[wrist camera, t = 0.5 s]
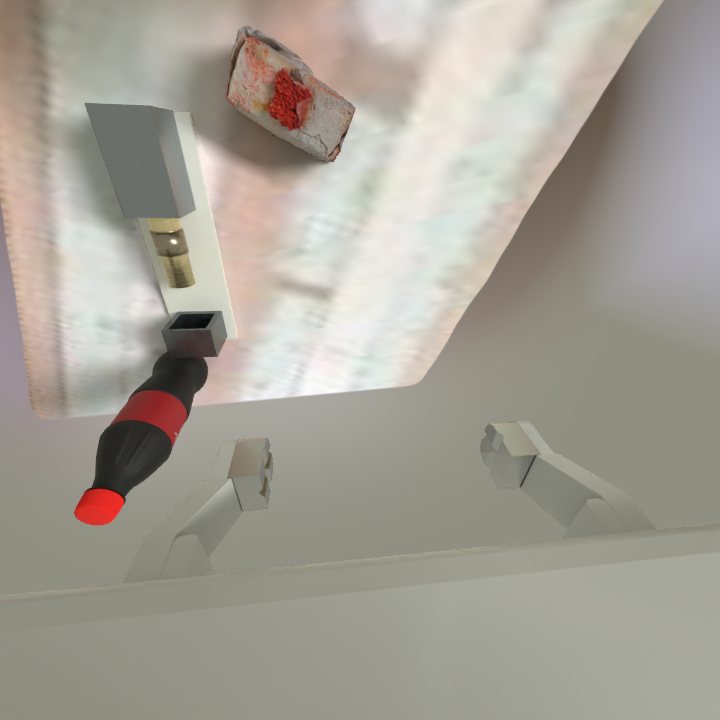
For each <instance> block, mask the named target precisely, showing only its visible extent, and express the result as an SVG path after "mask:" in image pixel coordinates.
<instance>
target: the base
mask: <svg viewBox="0 0 720 720" xmlns="http://www.w3.org/2000/svg"><path fill="white" fill-rule="evenodd" d="M173 113H174V117H175V121H176V126H177V130H178V134H179V138H180V143H181V147H182V151H183V156H184V160H185V164H186V168H187V173H188V177H189V181H190V185H191V190H192V194H193V198H194V203H195V207H196V210H195V211H193V212H191V213H189V214H187V215H185V216H183V217H181V218H179V221H180V225H181V228H183V230H184V234H185V238H186V242H187V245H188V249H189V253H188V255H189V259H190V263H191V266H192V270H193V274H194V278H195V282H196V283H195V284H194V285H193V286H190V287H186V288H170V287H169V286H168V282H167V279H166V276H165V273H164V270H163V267H162V263H161V260H160V257H159V256H158V255H157V253H156V250H155V247H154V244H153V240H152V237H151V234H150V230H151V228H150V225H149V222H148V219H147V218H137V219H138V222H139V225H140V228H141V231H142V234H143V237H144V240H145V243H146V246H147V250H148V253H149V256H150V259H151V262H152V265H153V268H154V271H155V274H156V277H157V280H158V283H159V286H160V289H161V292H162V295H163V298H164V301H165V304H166V307H167V310H168V313H169V316H170V319H172V318H173V317H174V315H175V314H176V313H177V312H184V311H222V314H223V319H224V323H225V327H226V332H227V338H226V339H237V338H238V335H237V330H236V325H235V320H234V316H233V311H232V306H231V301H230V296H229V292H228V287H227V282H226V277H225V273H224V268H223V263H222V258H221V254H220V249H219V244H218V239H217V235H216V230H215V225H214V220H213V216H212V211H211V206H210V201H209V197H208V192H207V187H206V182H205V178H204V173H203V168H202V163H201V158H200V154H199V149H198V144H197V139H196V135H195V130H194V125H193V120H192V116H191V112H184V111H173Z"/></svg>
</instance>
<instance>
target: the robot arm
mask: <svg viewBox="0 0 720 720" xmlns="http://www.w3.org/2000/svg"><path fill="white" fill-rule="evenodd" d="M485 433H486V434H487V435H486V436H485V437H484V438H483V439H482V441H481V445H480V450H481V456H482V459H483V461H484V463H485V464H486V465H487V466H489V467H490V468H491V473H490V474H491V476H492V478H493V480H494V482H495V484H496V485H497V488H498V489H514V488H521V490H522V491H523V492H524V493H525V494H526V495H528V496H529V497H530V498H531V499H532V500H534V501H535V502H536V503H537V504H538V505H539V506H540V507H542V508H543V509H544V510H545V511H547V513H549V514H550V515H551V516H552V517H553V518H554V519H556V520H557V521H558V522H559V523H560V524H561V525H563V526H564V527H565V528H566V529H567V530H566V531H565V533H564V534H563V536H562V537H561V539H555V540H545V541H535V542H526V543H516V544H506V545H496V546H486V547H476V548H466V549H456V550H446V551H436V552H427V553H417V554H407V555H397V556H388V557H378V558H369V559H358V560H349V561H340V562H329V563H319V564H309V565H300V566H290V567H280V568H270V569H260V570H251V571H240V572H231V573H221V574H216V573H215V571H214V569H213V567H212V565H211V563H210V561H209V559H208V558H209V557H210V556H211V554H212V553H213V552H214V550H215V549H216V547H217V546H218V545H219V544H220V542H221V541H222V539H223V538H224V537H225V536H226V534H227V533H228V532H229V530H230V529H231V527H232V526H233V525H234V524H235V522H236V521H237V520H238V518H239V517H240V516H241V514H242V512H243V511H251V510H261V509H267V508H268V502H269V495H270V488H269V483H270V481H271V480H272V474H273V459H272V454H271V453H270V452H269V448H270V443H269V439H268V438H255V439H237V440H224V441H223V442H222V444H221V446H220V449H219V452H218V455H217V458H216V461H215V464H214V467H213V470H212V473H211V476H210V479H209V480H204V481H203V482H202V483H201V484H200V485H199V486H198V487H197V488H196V489H195V490H193V491H192V492H191V493H190V494H189V495H188V496H187V497H186V498H185V499H184V500H183V501H182V502H181V503H179V504H178V505H177V506H176V507H175V508H174V509H173V510H172V511H171V512H170V513H169V514H167V515H166V516H165V517H164V518H163V519H162V520H161V521H160V522H159V523H158V524H157V525H156V526H155V527H153V528H152V529H151V530H150V531H149V532H148V533H147V534H146V535H145V536H144V537H143V538H142V540H141V542H140V544H139V546H138V549H137V551H136V553H135V555H134V557H133V560H132V562H131V564H130V566H129V568H128V570H127V573H126V575H125V577H124V579H123V581H122V583H121V584H112V585H102V586H91V587H82V588H72V589H62V590H52V591H42V592H32V593H22V594H12V595H1V596H0V720H720V523H712V524H702V525H692V526H682V527H673V528H663V529H658V528H657V527H656V526H655V525H654V524H653V523H652V522H651V520H650V519H649V518H648V517H647V516H646V515H645V514H644V512H643V511H642V510H641V509H640V508H639V507H638V506H637V505H636V503H635V502H634V501H633V500H632V499H631V498H630V497H629V495H627V494H626V493H624V492H622V491H621V490H619V489H617V488H616V487H614V486H612V485H610V484H609V483H607V482H605V481H604V480H602V479H600V478H598V477H597V476H595V475H593V474H592V473H590V472H588V471H587V470H585V469H583V468H581V467H580V466H578V465H576V464H575V463H573V462H571V461H569V460H568V459H566V458H564V457H563V456H561V455H559V454H554V453H553V452H552V450H551V449H550V448H549V447H548V445H547V444H546V443H545V441H544V440H543V439H542V437H541V436H540V435H539V433H538V432H537V431H536V430H535V428H534V427H533V426H532V424H531V423H530V422H528V421H520V422H506V423H491V424H488V425H487V426H486V428H485Z"/></svg>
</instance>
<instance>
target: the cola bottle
mask: <svg viewBox="0 0 720 720" xmlns="http://www.w3.org/2000/svg"><path fill="white" fill-rule="evenodd" d="M207 375H208V367H207V364H206V361H205V360H204V358H203V357H191V358H171V357H170V354H169V352H166V353H165V354H163V355H162V356H161V357H160V358H159V359H158V360H157V361H156V363H155V365H154V368H153V373H152V376H151V377H150V378H149V379H148V380H147V381H146V382H144V383H143V384H142V385H141V386H140V387H139V388H138V389H136V390H135V391H134V392H133V394H132V395H131V396H130V398H129V400H128V402H127V403H126V404H125V406H124V407H123V408H122V410H121V411H120V412H119V414H118V415H117V417H116V418H115V419H114V420H113V422H112V423H111V424H110V426H109V427H107V428H106V429H105V431H104V432H103V433H102V435H101V436H100V439H99V444H98V450H97V455H96V470H95V471H96V472H95V480H94V482H93V485H92V488H89V489H88V490H86V491H85V493H84V495H83V496H82V498H81V499H80V501H79V503H78V505H77V507H76V509H75V512H74V514H75V517H76V518H77V519H78V520H80V521H82V522H84V523H86V524H91V525H104V524H108V523H110V522H112V521H113V519H114V518H115V517H116V516H117V514H118V513H119V511H120V510H121V508H122V506H123V505H124V503H125V501H126V499H125V496H126V495H127V493H128V492H129V491H130V490H131V489H132V488H133V487H135V486H137V485H138V484H139V483H141V482H142V481H144V480H145V479H146V478H148V477H149V476H150V475H151V474H152V473H154V472H155V471H156V470H157V469H158V467H160V466H161V465H162V464H163V463H164V462H165V461H166V460H167V459H168V457H169V455H170V453H171V451H172V447H173V445H174V443H175V441H176V439H177V437H178V435H179V433H180V431H181V429H182V427H183V425H184V423H185V422H186V420H187V418H188V416H189V413H190V410H191V406H192V402H193V397H194V394H195V393H196V392H198V391H199V390H200V389H201V388H202V387H203V385H204V384H205V382H206V379H207Z"/></svg>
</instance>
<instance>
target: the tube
mask: <svg viewBox="0 0 720 720" xmlns="http://www.w3.org/2000/svg"><path fill="white" fill-rule="evenodd" d="M147 219H148V222H149V225H150V228H151V230H150V234H151V237H152V240H153V244H154V247H155V250H156V253H157V255H158V256H159V257H160V260H161V263H162V267H163V270H164V273H165V276H166V279H167V282H168V286H169V287H170V288H186V287H190V286H193V285H194V284H195V283H196V282H195V278H194V274H193V270H192V266H191V263H190V259H189V255H188V253H189V249H188V245H187V242H186V238H185V234H184V230H183V228H181V225H180V221H179V218H147Z"/></svg>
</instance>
